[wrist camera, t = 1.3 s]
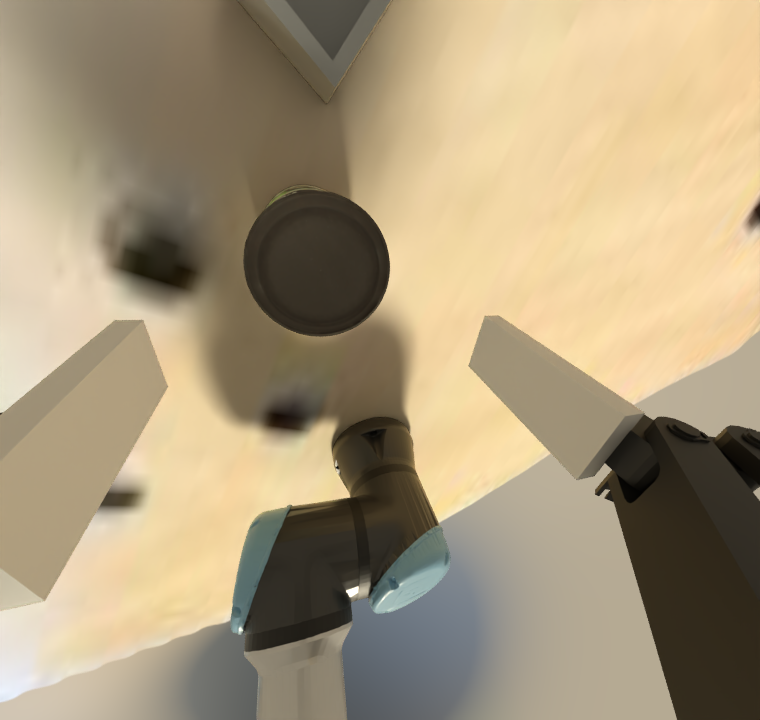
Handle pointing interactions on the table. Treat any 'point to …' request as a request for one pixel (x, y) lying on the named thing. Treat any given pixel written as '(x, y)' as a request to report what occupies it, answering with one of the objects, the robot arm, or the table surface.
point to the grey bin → (318, 34)
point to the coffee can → (316, 262)
